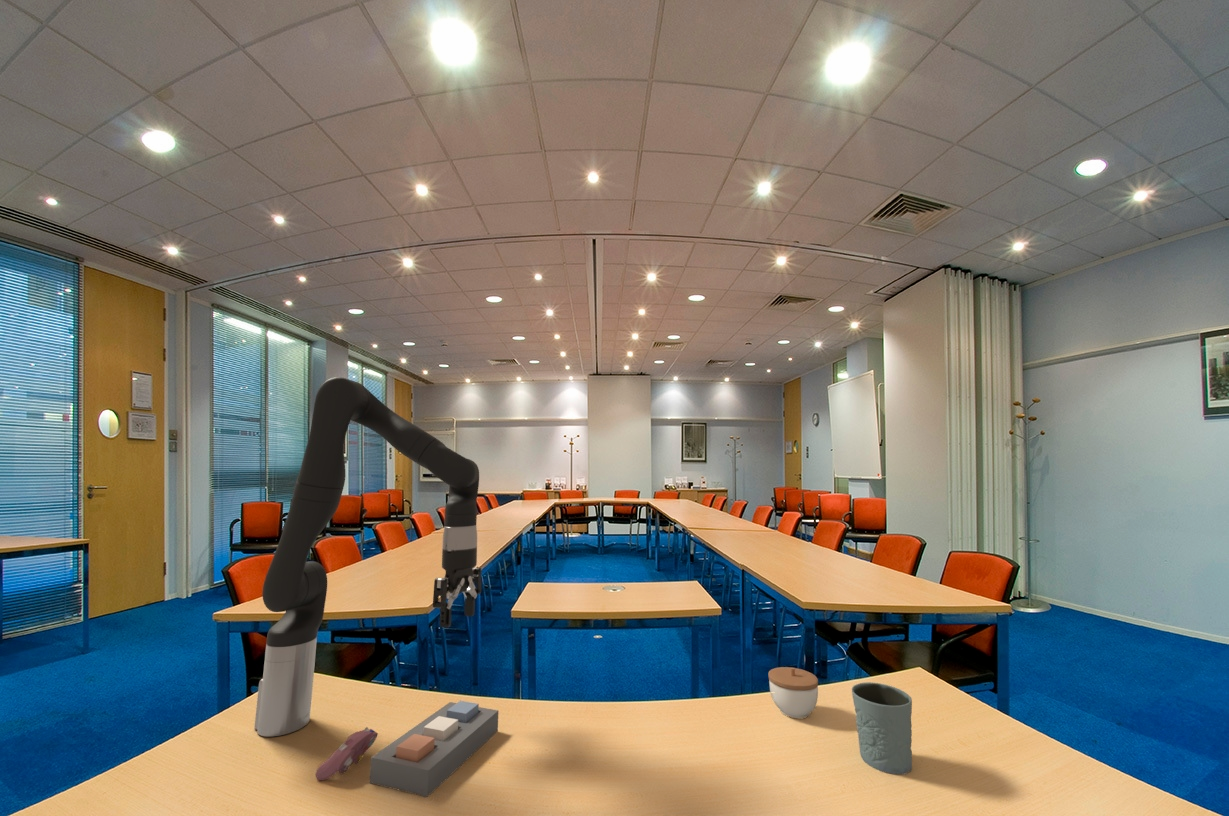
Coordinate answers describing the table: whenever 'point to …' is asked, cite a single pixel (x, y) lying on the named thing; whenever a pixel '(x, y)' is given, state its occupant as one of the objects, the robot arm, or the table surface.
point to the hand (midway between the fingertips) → (457, 621)
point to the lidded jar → (793, 691)
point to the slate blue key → (463, 711)
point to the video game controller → (347, 754)
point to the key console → (433, 754)
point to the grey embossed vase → (884, 726)
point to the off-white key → (441, 728)
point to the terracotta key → (415, 748)
